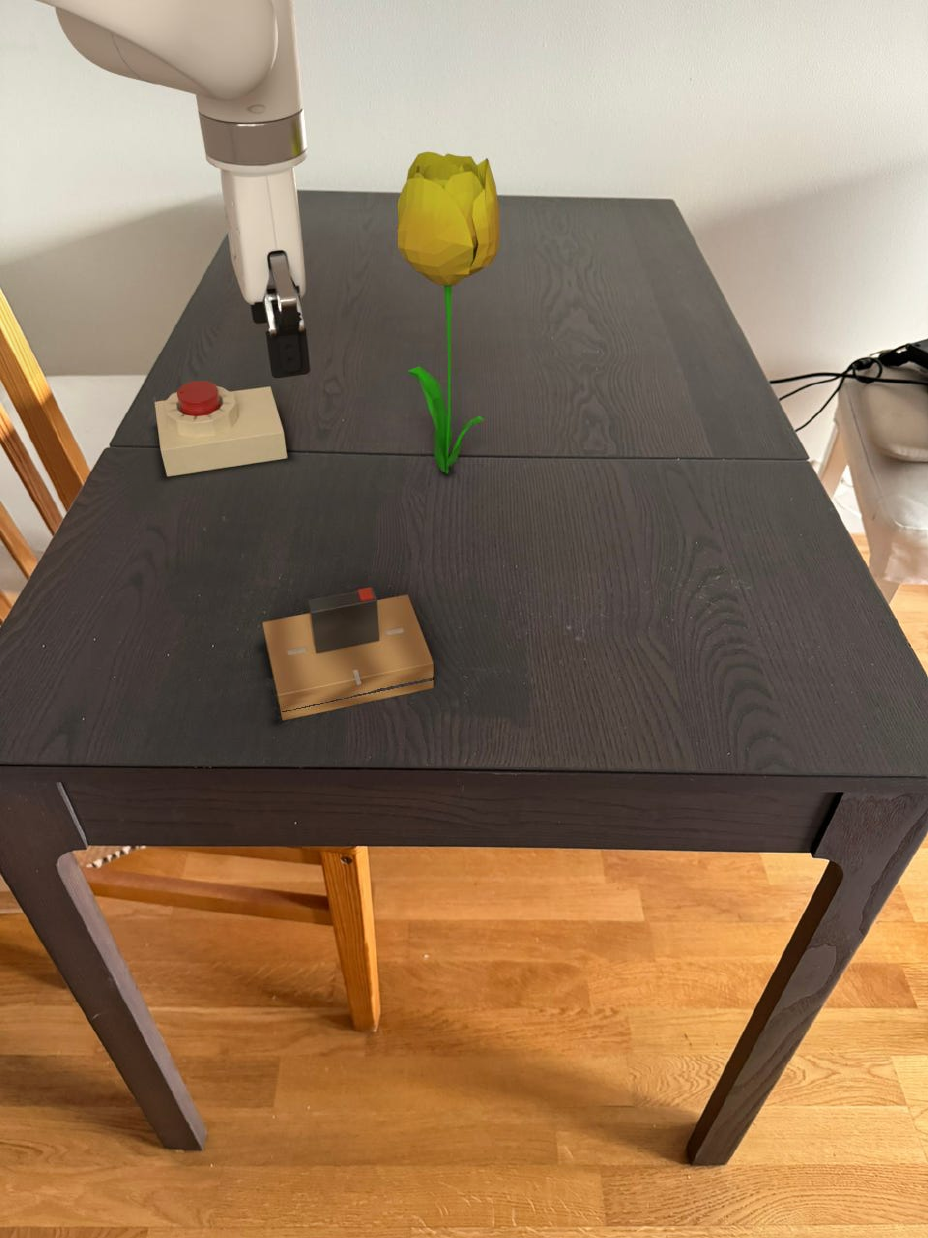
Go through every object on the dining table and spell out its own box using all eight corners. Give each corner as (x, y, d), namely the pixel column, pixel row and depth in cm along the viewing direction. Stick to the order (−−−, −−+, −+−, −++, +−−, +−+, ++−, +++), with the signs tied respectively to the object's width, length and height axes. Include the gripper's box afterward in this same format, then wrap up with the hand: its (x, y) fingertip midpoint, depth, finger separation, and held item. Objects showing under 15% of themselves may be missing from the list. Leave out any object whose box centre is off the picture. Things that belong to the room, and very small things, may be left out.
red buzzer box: (167, 476, 92) (156, 434, 89) (160, 427, 98) (150, 386, 95) (287, 458, 95) (281, 416, 91) (273, 412, 101) (268, 370, 98)
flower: (491, 452, 97) (507, 144, 75) (484, 499, 91) (499, 180, 70) (409, 445, 97) (402, 137, 76) (397, 492, 91) (385, 173, 70)
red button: (181, 420, 91) (178, 404, 90) (178, 399, 94) (175, 383, 93) (223, 414, 92) (220, 398, 91) (218, 393, 95) (215, 378, 94)
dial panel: (283, 727, 70) (278, 700, 68) (265, 642, 77) (260, 615, 74) (436, 694, 73) (436, 667, 71) (406, 615, 79) (405, 587, 77)
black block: (316, 654, 72) (310, 610, 68) (313, 641, 73) (307, 597, 69) (379, 641, 73) (377, 597, 69) (375, 629, 74) (372, 585, 70)
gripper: (189, 103, 74) (223, 307, 86) (218, 181, 62) (252, 404, 74) (284, 96, 75) (304, 297, 87) (328, 171, 64) (345, 391, 76)
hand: (280, 346), depth 81 cm, fingers open, 9 cm apart
